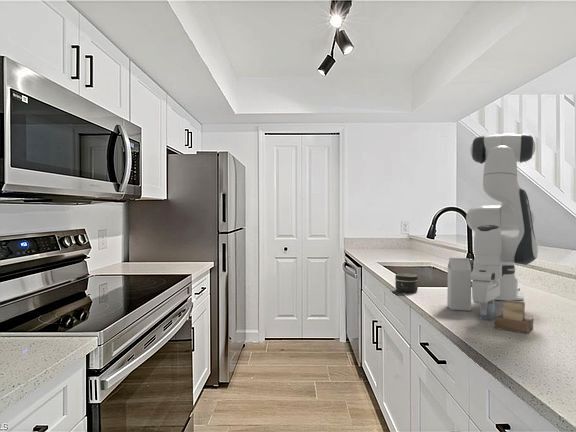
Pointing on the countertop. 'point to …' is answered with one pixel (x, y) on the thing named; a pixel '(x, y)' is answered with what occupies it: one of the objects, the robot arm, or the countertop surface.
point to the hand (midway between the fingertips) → (487, 312)
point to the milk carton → (459, 284)
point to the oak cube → (514, 310)
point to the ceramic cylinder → (490, 311)
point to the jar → (406, 283)
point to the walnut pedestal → (514, 324)
